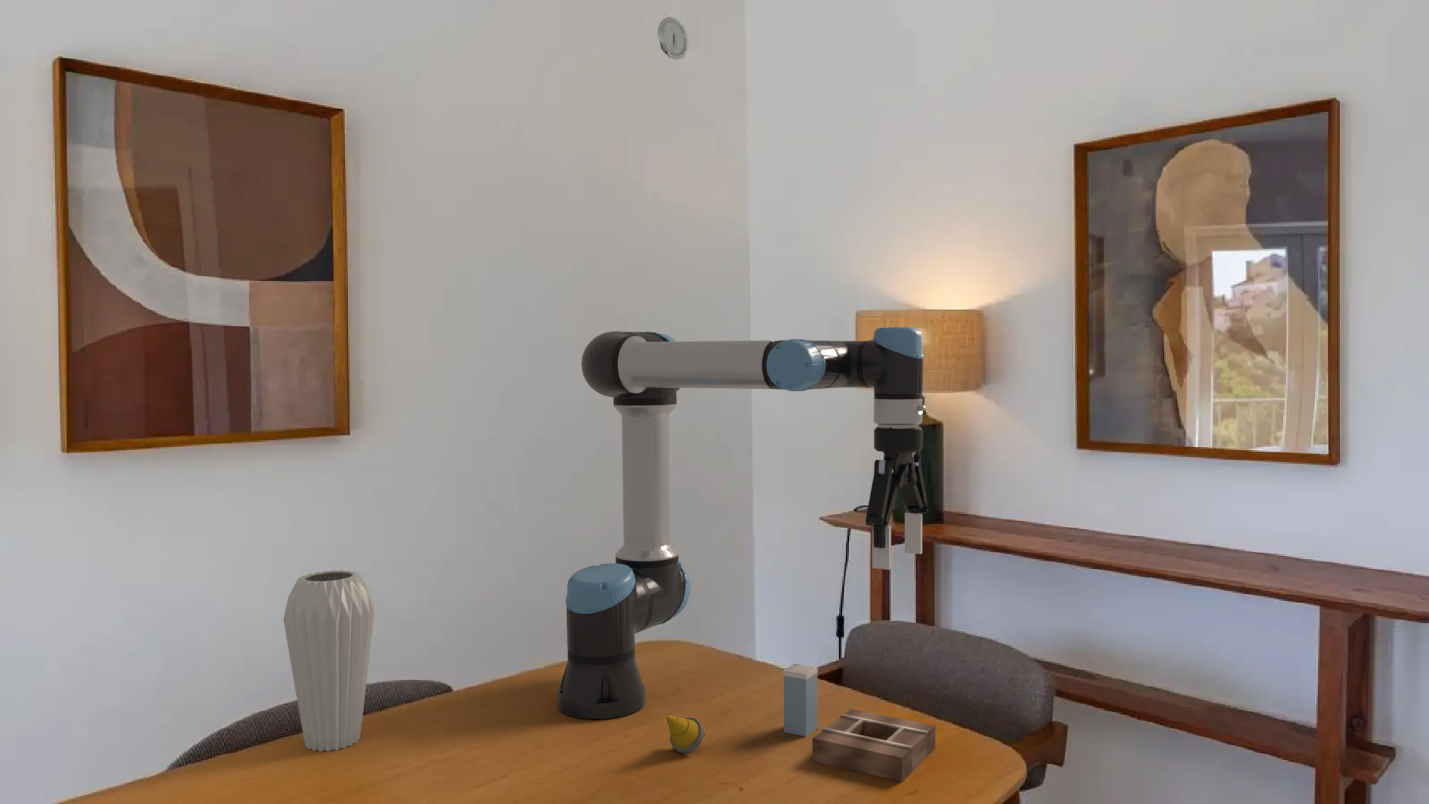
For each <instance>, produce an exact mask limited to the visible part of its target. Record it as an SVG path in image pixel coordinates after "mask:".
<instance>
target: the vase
mask: <svg viewBox="0 0 1429 804" xmlns="http://www.w3.org/2000/svg"><path fill="white" fill-rule="evenodd" d="M287 597H288V598H287V600H286V601H287V602H286V606H285V609H284V615H283V624H284V632H285V636H286V642H287V649H288V653H289V659H290V665H291V672H292V677H293V684H294V689H295V696H296V700H297V701H296V702H297V707H298V713H299V717H300V718H299V720H300V725H301V730H302V734H303V735H302V736H303V741H304V746H305V748H307V750H312V752H315V751H318V752H320V753H321V752H325V751H326V752H331V751H332V750H333V751H339V749H346V748H347V747H353V744H356V743H357V744H358V741H360V740H361V733H362V725H363V724H362V723H363V717H364V706H365V698H366V697H365V696H366V691H367V690H366V688H367V681H368V672H369V671H368V670H369V662H370V653H371V646H372V635H373V626H374V617H375V606H374V603H373V599H372V596H371V592H370V589H369V587H368V586H367V584H366V583H365V581H364V579H363V578H362V576H361V575H360V574H359V572H357V571H351V570H343V569H342V570H334V569H333V570H330V571H329V570H328V571H327V570H324V571H321V572H320V571H317V572H314V573H308V574H305V575H301V577H298V578H297V580H296V582H295V583H294V586H293V588H291V591H290V592H289V595H288V596H287Z"/></svg>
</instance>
